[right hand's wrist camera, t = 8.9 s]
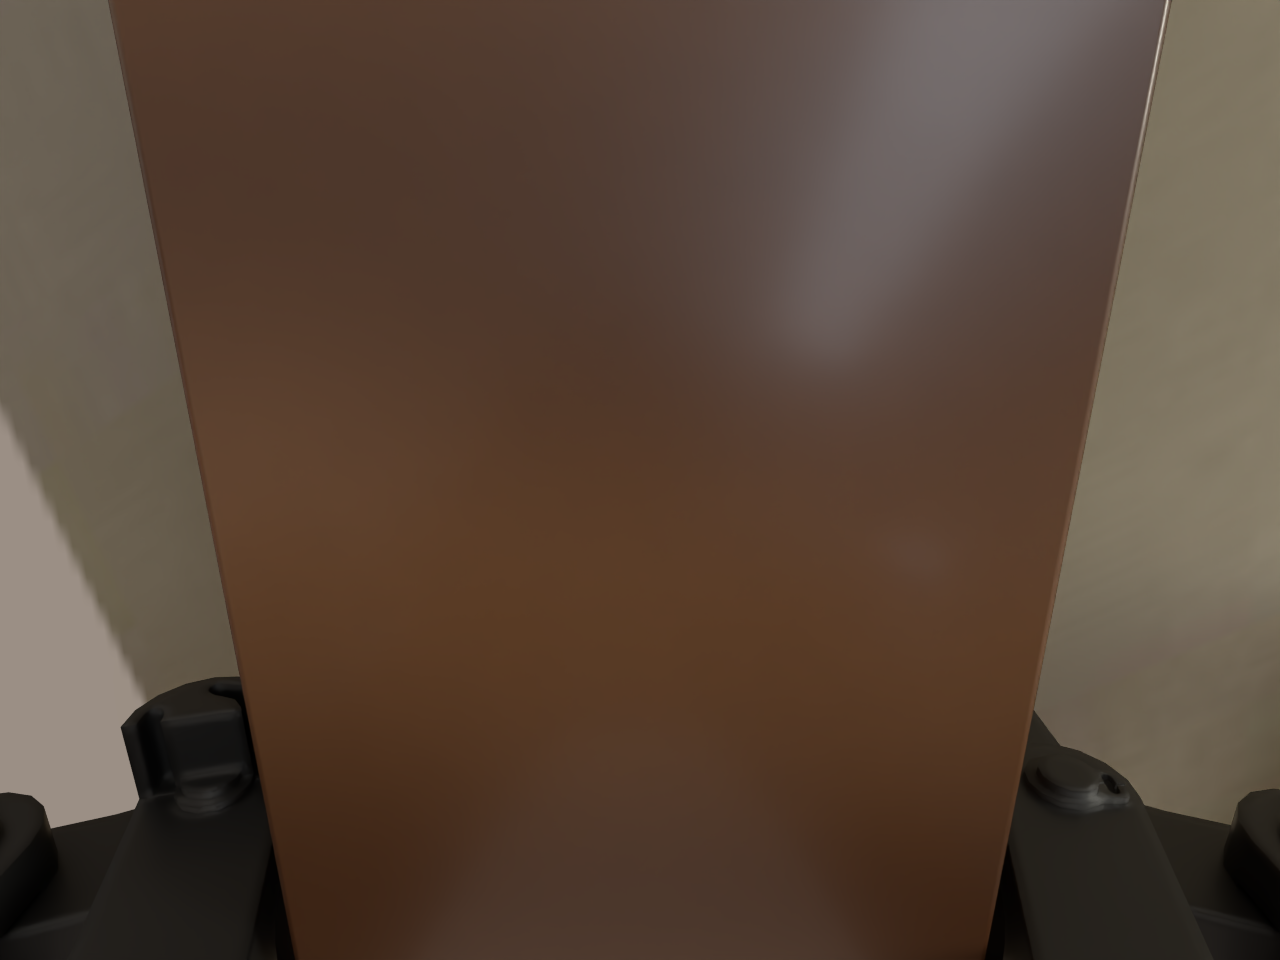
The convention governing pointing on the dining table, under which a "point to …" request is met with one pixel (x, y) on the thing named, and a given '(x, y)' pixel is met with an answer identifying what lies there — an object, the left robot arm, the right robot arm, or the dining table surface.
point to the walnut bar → (639, 445)
